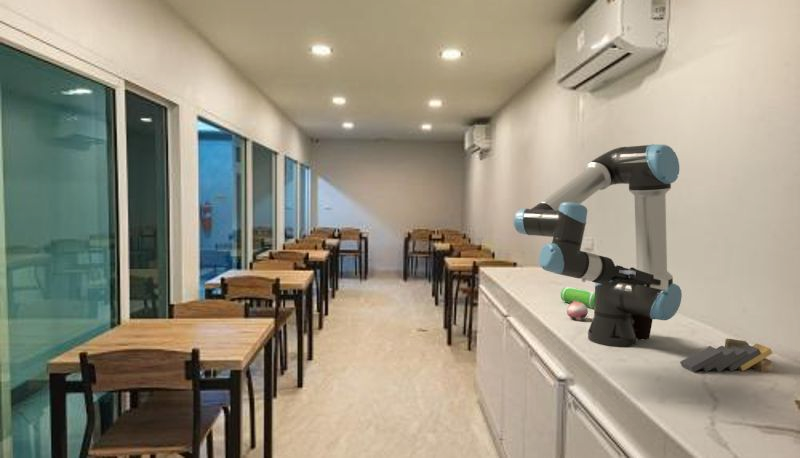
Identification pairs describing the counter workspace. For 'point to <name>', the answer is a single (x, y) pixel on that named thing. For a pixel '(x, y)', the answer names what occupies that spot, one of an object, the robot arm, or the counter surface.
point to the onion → (577, 310)
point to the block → (763, 365)
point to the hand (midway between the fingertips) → (666, 285)
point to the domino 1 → (701, 359)
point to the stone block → (734, 343)
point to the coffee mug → (641, 326)
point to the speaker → (578, 296)
